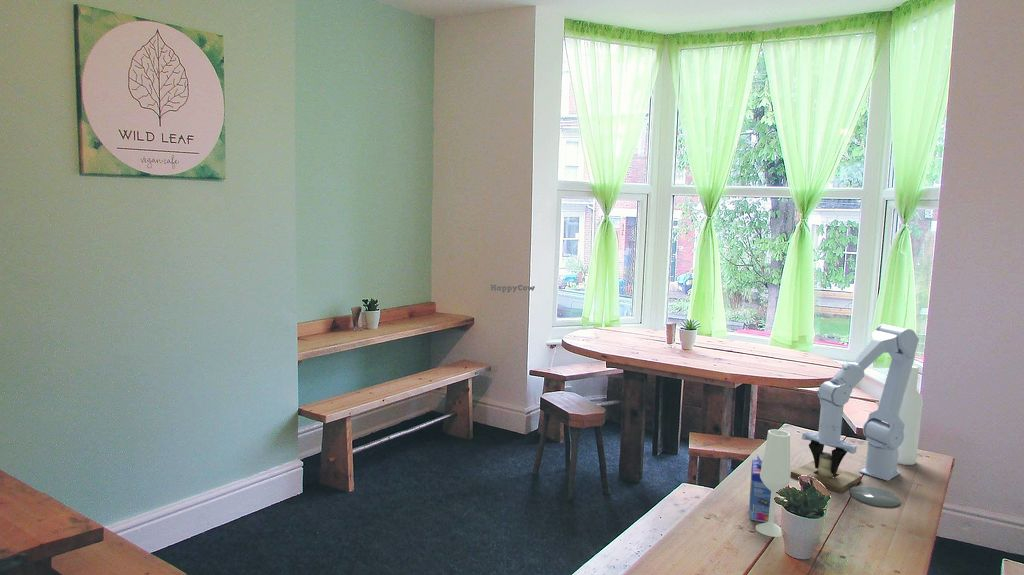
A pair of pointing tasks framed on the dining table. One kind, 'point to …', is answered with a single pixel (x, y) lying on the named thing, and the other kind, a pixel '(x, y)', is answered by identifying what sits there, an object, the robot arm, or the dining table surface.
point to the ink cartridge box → (758, 494)
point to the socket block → (837, 483)
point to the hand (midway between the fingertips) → (825, 470)
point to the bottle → (910, 420)
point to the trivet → (874, 496)
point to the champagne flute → (775, 474)
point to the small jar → (825, 465)
